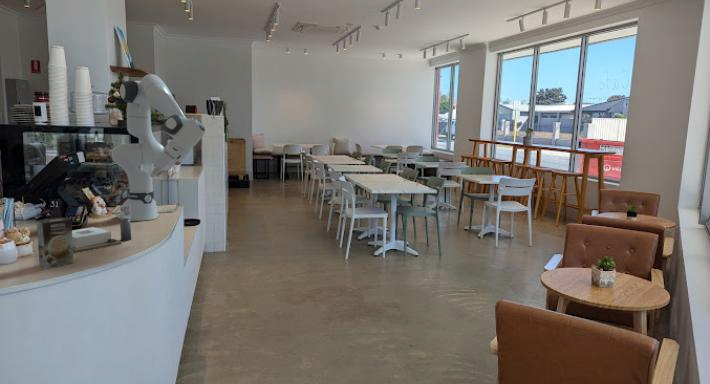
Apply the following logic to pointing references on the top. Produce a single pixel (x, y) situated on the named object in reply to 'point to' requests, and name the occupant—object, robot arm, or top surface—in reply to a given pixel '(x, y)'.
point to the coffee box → (55, 242)
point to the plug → (125, 228)
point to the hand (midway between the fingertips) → (154, 176)
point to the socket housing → (89, 236)
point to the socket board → (97, 246)
